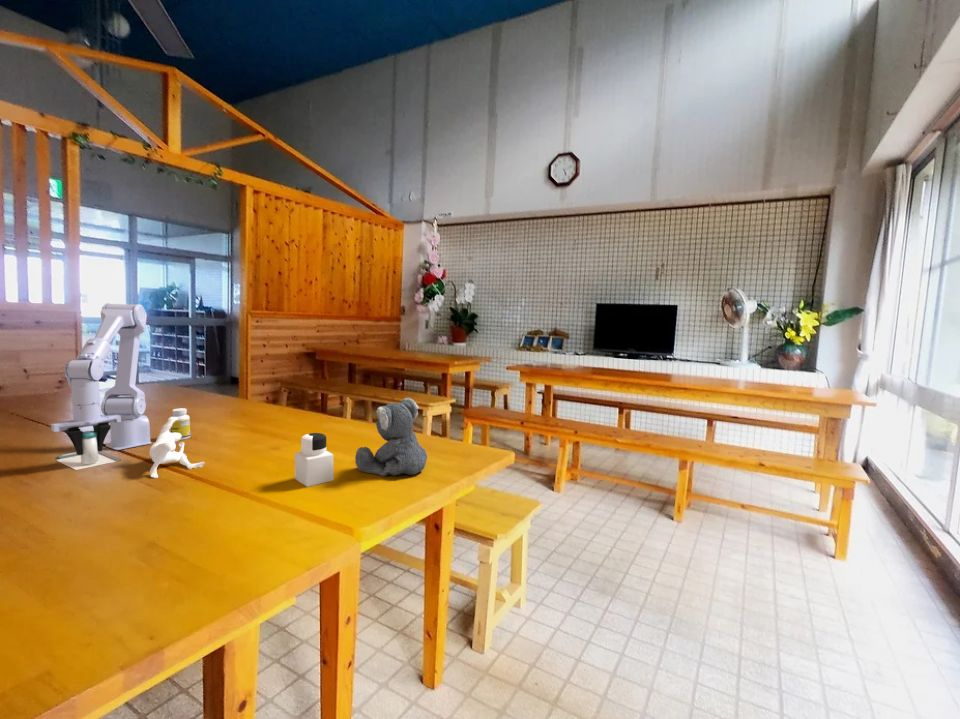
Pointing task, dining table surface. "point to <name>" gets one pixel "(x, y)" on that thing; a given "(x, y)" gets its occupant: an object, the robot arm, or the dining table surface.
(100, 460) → the white rectangular slab
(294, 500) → the dining table surface
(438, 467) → the dining table surface
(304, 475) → the medicine bottle
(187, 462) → the person figurine
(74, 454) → the green striped bar
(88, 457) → the white teal cylinder
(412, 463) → the koala plush
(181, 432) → the supplement bottle
